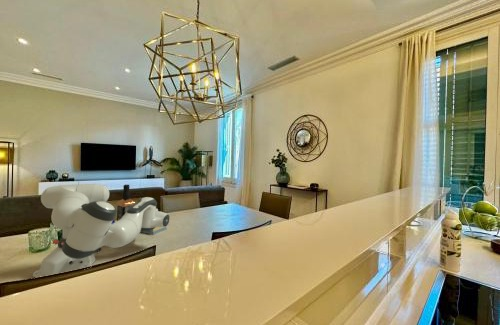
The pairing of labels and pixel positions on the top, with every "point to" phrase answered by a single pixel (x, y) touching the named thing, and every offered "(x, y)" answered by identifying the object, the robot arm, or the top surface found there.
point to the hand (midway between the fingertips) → (130, 213)
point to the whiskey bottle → (124, 203)
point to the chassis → (155, 230)
